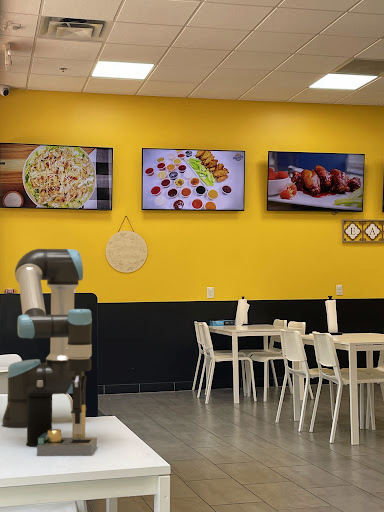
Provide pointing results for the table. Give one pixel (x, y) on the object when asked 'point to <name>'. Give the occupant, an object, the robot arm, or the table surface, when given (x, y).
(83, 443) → the jig
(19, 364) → the robot arm
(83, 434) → the brass rod
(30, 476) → the table surface
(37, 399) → the aerosol can
